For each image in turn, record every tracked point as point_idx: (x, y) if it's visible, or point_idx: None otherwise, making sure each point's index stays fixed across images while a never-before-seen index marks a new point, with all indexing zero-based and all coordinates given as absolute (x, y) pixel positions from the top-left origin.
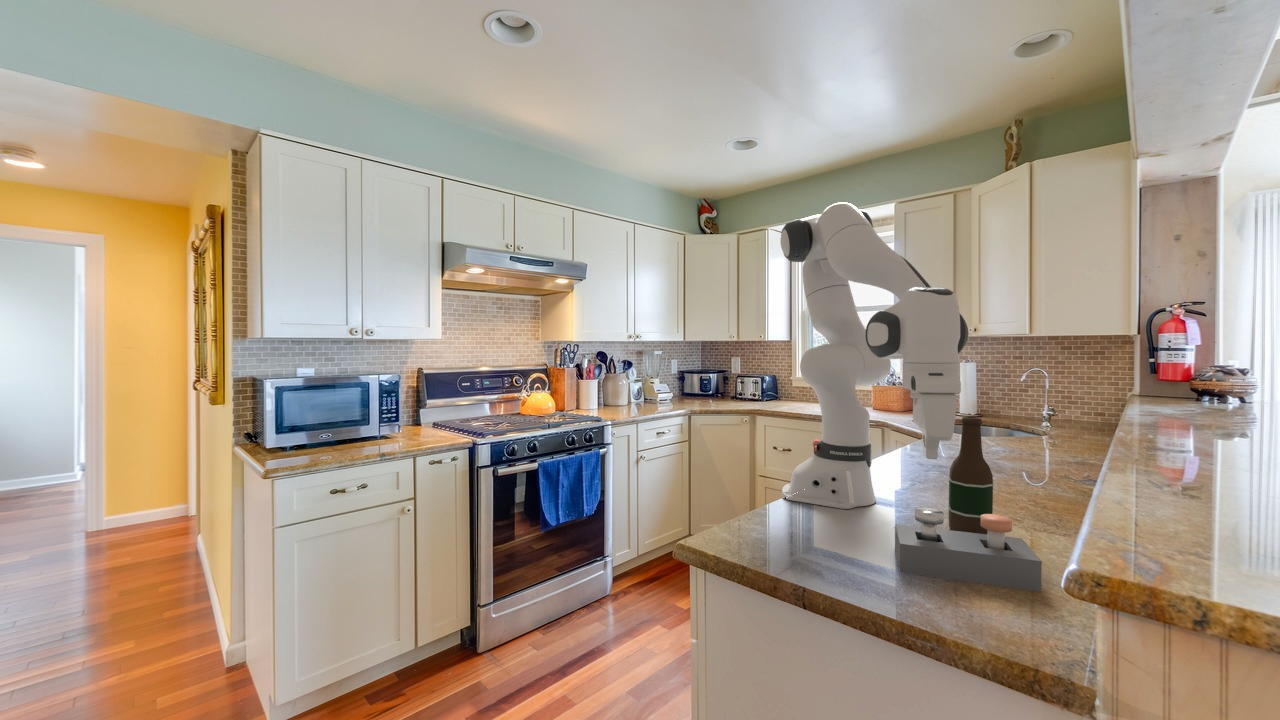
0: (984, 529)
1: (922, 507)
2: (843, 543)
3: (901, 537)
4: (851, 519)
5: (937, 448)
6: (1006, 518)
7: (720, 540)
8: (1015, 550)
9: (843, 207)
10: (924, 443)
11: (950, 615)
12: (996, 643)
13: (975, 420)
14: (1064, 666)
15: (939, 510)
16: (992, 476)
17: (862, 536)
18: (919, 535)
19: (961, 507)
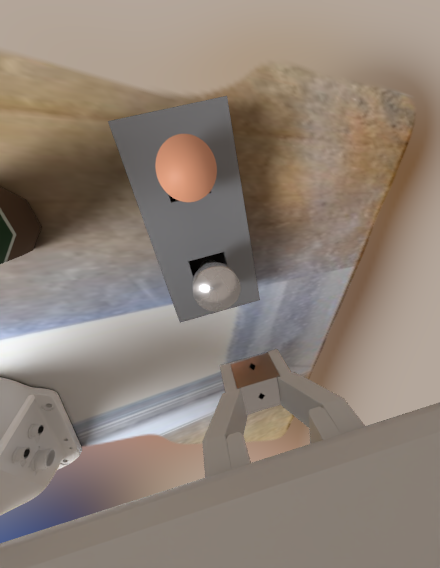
0: (7, 195)
1: (198, 303)
2: (196, 352)
3: (234, 303)
4: (96, 372)
5: (298, 375)
6: (173, 146)
7: (259, 427)
8: None
9: None
10: (244, 426)
11: (330, 223)
12: (371, 179)
13: None
14: (396, 114)
15: (199, 276)
16: None
17: (156, 344)
18: None
19: (1, 245)
